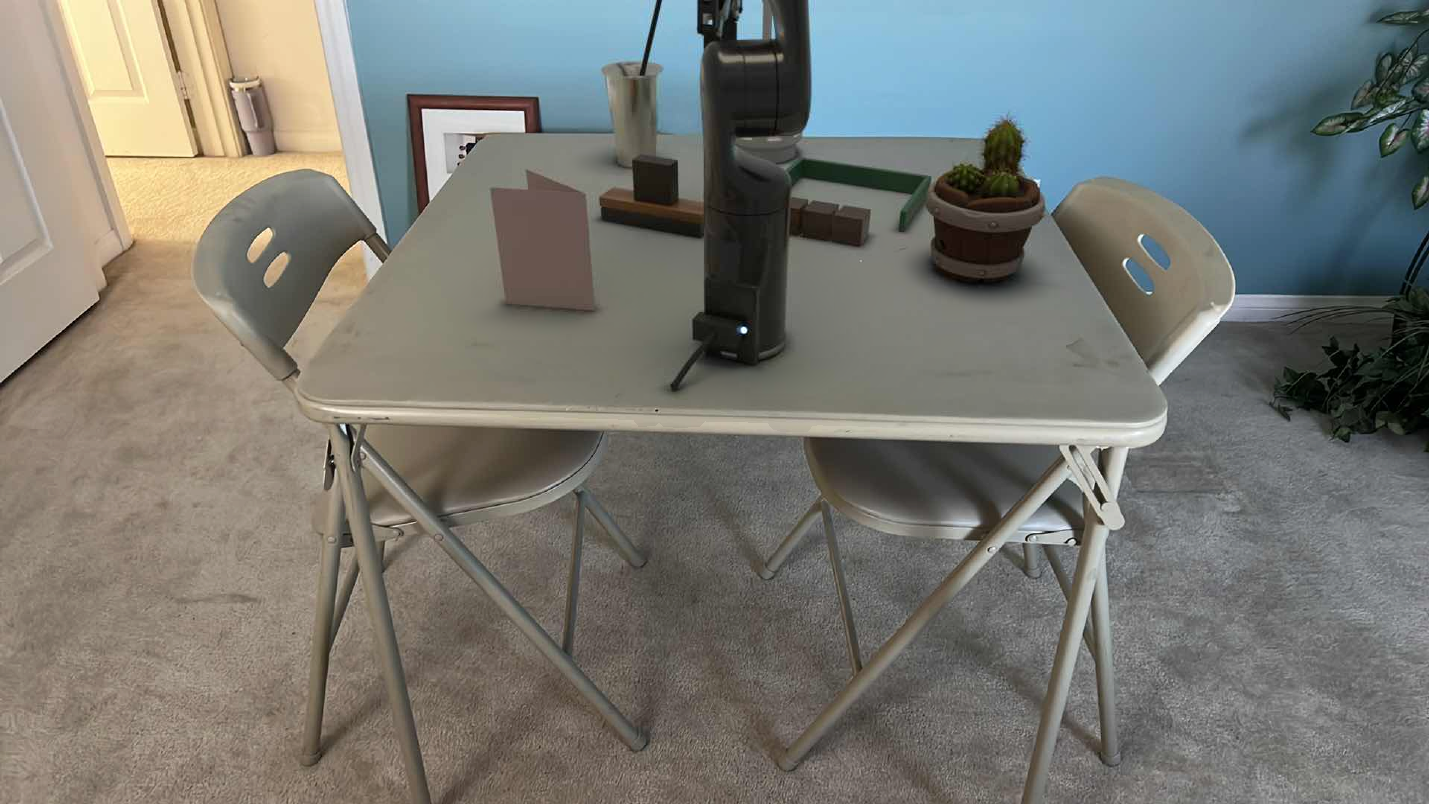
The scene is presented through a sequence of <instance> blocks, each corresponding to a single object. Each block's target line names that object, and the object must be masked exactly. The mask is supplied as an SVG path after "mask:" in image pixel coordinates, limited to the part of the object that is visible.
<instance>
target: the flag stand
mask: <svg viewBox="0 0 1429 804" xmlns="http://www.w3.org/2000/svg"><path fill="white" fill-rule="evenodd" d="M761 2H762V30H761V31H762V32H761V33H762V34H761V35H762V37H761V39H773V38H772V37H773V36H772V35H773V16H772V12H771V8H770V4H769V1H768V0H761ZM802 140H803V132H801V133H800V134H798V135H793V136H779V137H757V138H737V139H736V140H735V145H736V146H737V147H738V148H739V149H741V150H742V151H744V152H746V153H748V154H750V155H752V156H754V157H757V158H760V159H763V160H766V161H769V162H772V163H775V164H779V163H783V162H787V161H791V160H792V159H793V158H795V156H796V150H797V144H798V143H799V142H801V141H802Z"/></svg>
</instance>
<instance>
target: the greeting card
mask: <svg viewBox="0 0 1429 804" xmlns="http://www.w3.org/2000/svg"><path fill="white" fill-rule="evenodd" d="M525 173H526V183H527V189H522V188H509V187H492V186H490V187H489V191H490V199H491V206H492V212H493V213H492V214H493V220H494V228H495V234H496V240H497V249H498V250H497V251H498V256H499V264H500V271H501V277H502V284H503V285H502V286H503V293H504V300H505V304H507V305H521V306H530V307H531V306H533V307H544V308H546V307H547V308H557V309H569V310H580V311H591V312H593V311H596V307H595V306H596V305H595V293H594V281H593V279H594V278H593V267H592V255H591V254H592V253H591V243H590V231H589V217H588V205H587V193H586V192H583V191H581V190H579V189H576V188H573V187H571V186H569V185H567V184H564V183H562V182H559V181H556V180H554V179H553V178H550V177H547V176H545V175H542V174H539V173H537V172H535V171H532V170H530V169H527V168H525Z"/></svg>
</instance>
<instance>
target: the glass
mask: <svg viewBox="0 0 1429 804" xmlns="http://www.w3.org/2000/svg"><path fill="white" fill-rule="evenodd" d="M662 3H663V0H656V1H655V5H654V10H653V14H652V17H651V21H650V22H651V23H650V26H649V31H648V36H647V40H646V44H645V49H644V52H643V57H642V61H641V60H629V61H628V60H627V61H626V60H625V61H619V62H613V63H609V64H606V65H604V66H602V67H601V69H600V72H601V74H603V76H604V82H605V88H606V94H607V102H608V107H609V113H610V120H611V125H612V129H613V135H614V142H615V143H614V144H615V150H616V156H617V164H619V165H620V166H622V167H625V168H632V159H634V158H636V157H637V156H639V155H640V154H642V155H648V156H655V157H657V141H658V139H657V138H658V124H659V109H660V95H661V78H662V77H661V75H662V73H663V72H664V70H665V69H664V66H662V65H661V64H659V63H655V62H651V61H649V60H650V54H651V50H652V46H653V42H654V39H655V38H654V37H655V33H656V29H657V24H658V20H659V16H660V11H661V8H662Z"/></svg>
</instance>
